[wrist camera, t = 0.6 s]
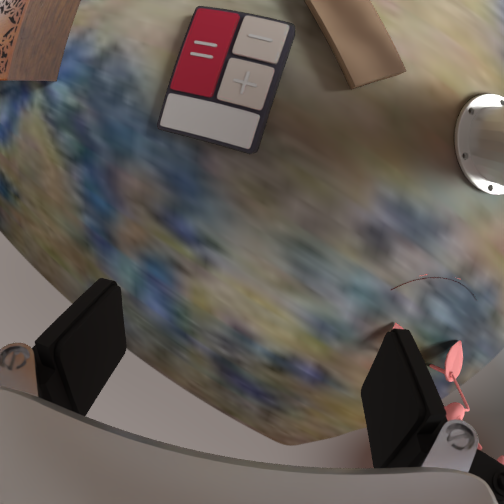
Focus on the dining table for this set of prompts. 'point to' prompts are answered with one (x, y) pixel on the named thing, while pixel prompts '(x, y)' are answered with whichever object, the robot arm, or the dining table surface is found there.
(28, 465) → the robot arm
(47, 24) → the tissue box cover
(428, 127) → the dining table surface
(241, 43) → the calculator
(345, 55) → the brown wooden plank
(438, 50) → the dining table surface
